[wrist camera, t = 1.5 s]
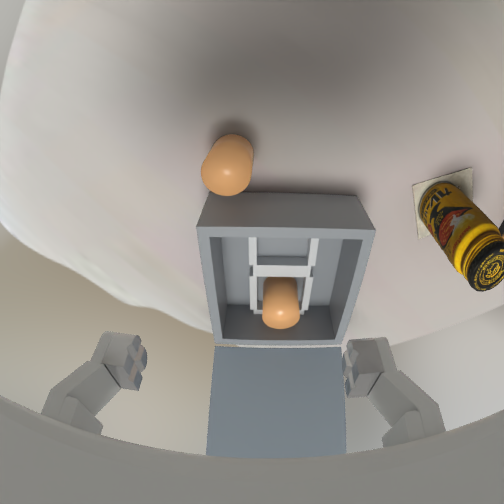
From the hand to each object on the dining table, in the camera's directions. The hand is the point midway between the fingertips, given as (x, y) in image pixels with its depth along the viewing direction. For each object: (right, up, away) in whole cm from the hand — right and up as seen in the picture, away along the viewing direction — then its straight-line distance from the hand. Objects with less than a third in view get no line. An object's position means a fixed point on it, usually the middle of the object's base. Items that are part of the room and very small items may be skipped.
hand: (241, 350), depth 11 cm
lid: (+3, -14, +18) cm, 23 cm away
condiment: (+23, +9, +17) cm, 30 cm away
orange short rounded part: (+4, 0, +24) cm, 24 cm away
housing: (+4, +3, +23) cm, 23 cm away
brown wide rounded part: (-1, +13, +16) cm, 20 cm away
